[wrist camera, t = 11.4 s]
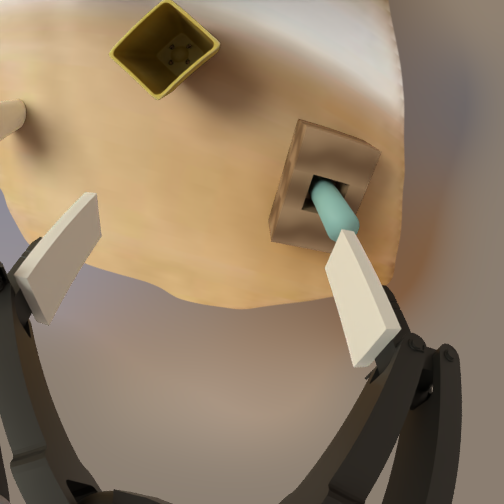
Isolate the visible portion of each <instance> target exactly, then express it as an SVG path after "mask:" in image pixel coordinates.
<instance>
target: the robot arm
mask: <svg viewBox="0 0 504 504" xmlns="http://www.w3.org/2000/svg"><path fill="white" fill-rule="evenodd" d="M101 236H102V234H101V227H100V219H99V210H98V200H97V193H90V192H85V193H84V194H83V195H82V196H81V197H80V198H79V199H78V200H77V201H76V202H75V203H74V204H73V205H72V206H71V207H70V208H69V209H68V210H67V211H66V212H65V213H64V214H63V215H62V216H61V217H60V219H59V220H58V221H57V222H56V223H55V224H54V225H53V226H52V227H51V229H50V230H49V231H48V232H47V233H46V234H45V236H44V237H39V238H38V239H37V240H35V241H34V242H32V243H31V244H30V246H29V247H28V248H27V250H26V251H25V252H24V253H23V254H22V257H20V258H19V259H18V261H17V262H16V264H15V265H14V266H13V267H12V269H11V270H10V271H9V273H8V274H6V271H5V269H4V267H3V264H2V263H1V262H0V414H1V418H2V422H3V425H4V429H5V432H6V435H7V438H8V441H9V444H10V447H11V449H12V453H13V460H12V461H11V463H10V468H11V471H12V474H13V477H14V479H15V481H16V484H17V486H18V488H19V490H20V492H21V494H22V496H23V498H24V500H25V502H26V504H172V503H169V502H166V501H164V500H161V499H159V498H155V497H150V496H146V495H142V494H137V493H133V492H127V491H121V490H115V489H114V491H103V492H102V491H101V489H100V488H99V486H98V485H97V483H96V481H95V480H94V478H93V477H92V475H91V474H90V473H89V471H88V470H87V469H86V468H85V467H84V466H83V465H82V463H81V462H80V460H79V459H78V457H77V455H76V453H75V451H74V449H73V447H72V445H71V443H70V441H69V439H68V437H67V434H66V432H65V430H64V428H63V425H62V423H61V421H60V418H59V416H58V413H57V411H56V409H55V406H54V403H53V401H52V398H51V395H50V393H49V389H48V386H47V383H46V380H45V377H44V374H43V370H42V367H41V363H40V360H39V356H38V352H37V348H36V344H35V340H34V335H33V330H32V326H31V322H30V320H29V317H30V315H31V313H32V314H33V316H34V317H35V319H36V321H37V322H39V323H42V324H45V325H48V326H49V325H50V323H51V321H52V319H53V317H54V315H55V313H56V311H57V309H58V308H59V306H60V304H61V302H62V300H63V298H64V296H65V295H66V293H67V291H68V289H69V288H70V286H71V284H72V282H73V281H74V279H75V277H76V276H77V274H78V272H79V271H80V269H81V267H82V266H83V264H84V262H85V261H86V259H87V258H88V256H89V255H90V253H91V251H92V250H93V248H94V247H95V245H96V244H97V242H98V241H99V239H100V238H101ZM325 270H326V273H327V277H328V280H329V283H330V286H331V289H332V292H333V296H334V299H335V302H336V305H337V309H338V312H339V316H340V319H341V323H342V326H343V329H344V333H345V337H346V340H347V344H348V348H349V352H350V356H351V359H352V363H353V367H368V366H369V365H370V364H371V363H372V362H373V361H374V360H375V361H376V365H377V366H376V367H375V368H374V369H373V370H372V372H370V373H369V374H368V375H367V376H366V378H365V379H368V378H369V379H368V381H367V383H366V385H365V387H364V389H363V390H362V392H361V394H360V396H359V398H358V399H357V401H356V403H355V405H354V406H353V408H352V410H351V412H350V413H349V415H348V417H347V418H346V420H345V422H344V423H343V425H342V426H341V428H340V430H339V431H338V433H337V434H336V436H335V437H334V439H333V440H332V442H331V443H330V445H329V446H328V448H327V449H326V451H325V452H324V453H323V455H322V456H321V458H320V459H319V460H318V462H317V463H316V465H315V466H314V467H313V469H312V470H311V471H310V472H309V474H308V475H307V476H306V478H305V479H304V480H303V481H302V483H301V484H300V485H299V486H298V488H296V490H295V491H293V492H292V493H291V494H289V495H288V496H287V497H285V498H284V499H283V500H282V501H281V502H280V503H279V504H365V500H366V498H367V496H368V494H369V493H370V491H371V489H372V488H373V486H374V484H375V482H376V481H377V479H378V477H379V475H380V473H381V471H382V470H383V468H384V466H385V464H386V462H387V460H388V458H389V456H390V453H391V452H392V449H393V447H394V445H395V443H396V440H397V438H398V436H399V440H398V445H397V450H396V455H395V459H394V463H393V467H392V471H391V475H390V479H389V482H388V485H387V489H386V493H385V495H384V499H383V502H382V504H452V499H453V494H454V489H455V483H456V477H457V470H458V463H459V454H460V453H459V452H460V442H461V422H462V395H461V373H460V361H459V356H458V354H457V352H456V350H455V349H454V348H453V347H452V346H451V345H449V344H442V345H441V346H440V347H439V348H438V349H437V350H435V349H432V348H429V347H426V344H425V342H424V341H423V339H422V338H421V337H420V336H418V335H416V334H414V333H411V332H410V329H409V327H408V325H407V322H406V320H405V318H404V316H403V314H402V311H401V310H400V307H399V305H398V304H397V301H396V299H395V297H394V295H393V293H392V292H391V291H390V290H389V288H388V287H387V286H384V285H381V283H380V281H379V279H378V277H377V275H376V273H375V271H374V269H373V267H372V265H371V263H370V261H369V259H368V257H367V255H366V253H365V251H364V249H363V247H362V245H361V244H360V242H359V240H358V238H357V236H356V234H355V233H354V231H349V230H344V229H342V230H341V232H340V234H339V237H338V239H337V241H336V244H335V246H334V248H333V251H332V253H331V255H330V257H329V260H328V262H327V264H326V266H325ZM432 387H433V392H432ZM399 434H400V435H399ZM0 504H10V500H9V491H8V484H7V479H6V474H5V469H4V464H3V459H2V454H1V448H0Z"/></svg>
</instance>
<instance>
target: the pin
mask: <svg viewBox="0 0 504 504" xmlns="http://www.w3.org/2000/svg"><path fill="white" fill-rule="evenodd" d="M308 193H309V195H310V197H311V199H312V201H313V203H314V205H315V207H316V210H317V212H318V214H319V216H320V218H321V221H322V223H323V225H324V227H325V230H326V232H327V234H328V236H329V238H330V239H331V240H333V241H335V242H336V241H337V239H338V237H339V234H340V232H341V230H342V229H344V230H349V231H354V233H355V234H357V232H358V230H359V221H358V218H357V217H356V215H355V214H354V212H353V211H352V209H351V208H350V207H349V205H348V204H347V202H346V201H345V199H344V198H343V196H342V195H341V194H340V192H339V191H338V189H337V188H336V187H335V185H334V184H333V182H332V181H331V180H330V179H328V178H325V177H321V176H318V175H313V178H312V180H311V183H310V186H309V189H308Z"/></svg>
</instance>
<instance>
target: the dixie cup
mask: <svg viewBox="0 0 504 504" xmlns="http://www.w3.org/2000/svg"><path fill="white" fill-rule="evenodd" d="M25 118H26V108H25V105H24V103H23V101H22V100H20V99H15V100H7V101H0V141H1V140H2V139H4V138H5V137H7V136H8V135H10V134H11V133H13V132H15V131H16V130H18V129H19V128H21V127H22V125H23V124H24V122H25Z"/></svg>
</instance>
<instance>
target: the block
mask: <svg viewBox="0 0 504 504" xmlns="http://www.w3.org/2000/svg"><path fill="white" fill-rule="evenodd" d="M380 154H381V151H379V150H378V149H376V148H375V147H373V146H372V145H370V144H368V143H367V142H365V141H364V140H361V139H358V138H356V137H353V136H350V135H347V134H345V133H342V132H339V131H336V130H333V129H330V128H327V127H324V126H320V125H317V124H314V123H311V122H307V121H304V120H300V119H298V122H297V125H296V128H295V132H294V135H293V139H292V142H291V146H290V149H289V152H288V156H287V159H286V163H285V166H284V169H283V173H282V176H281V180H280V183H279V186H278V190H277V193H276V196H275V200H274V203H273V207H272V210H271V213H270V217H269V228H270V236H271V242H276V243H281V244H286V245H291V246H297V247H302V248H307V249H312V250H317V251H322V252H327V253H332V251H333V248H334V246H335V244H336V242H335V241H333V240H331V239H330V238H329V236H328V234H327V232H326V230H325V227H324V225H323V223H322V221H321V218H320V216H319V214H318V212H317V210H316V207H315V205H314V203H313V201H312V199H311V197H310V195H309V193H308V189H309V186H310V183H311V180H312V178H313V175H318V176H321V177H325V178H328V179H330V180H331V181H332V182H333V184H334V185H335V187H336V188H337V189H338V191H339V192H340V194H341V195H342V196H343V198H344V199H345V201H346V202H347V204H348V205H349V207H350V208H351V209H352V211H353V212H354V214H355V215H356V213H357V211H358V208H359V206H360V204H361V201H362V199H363V197H364V194H365V192H366V189H367V187H368V185H369V182H370V180H371V177H372V175H373V172H374V170H375V167H376V164H377V162H378V159H379V157H380Z"/></svg>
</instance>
